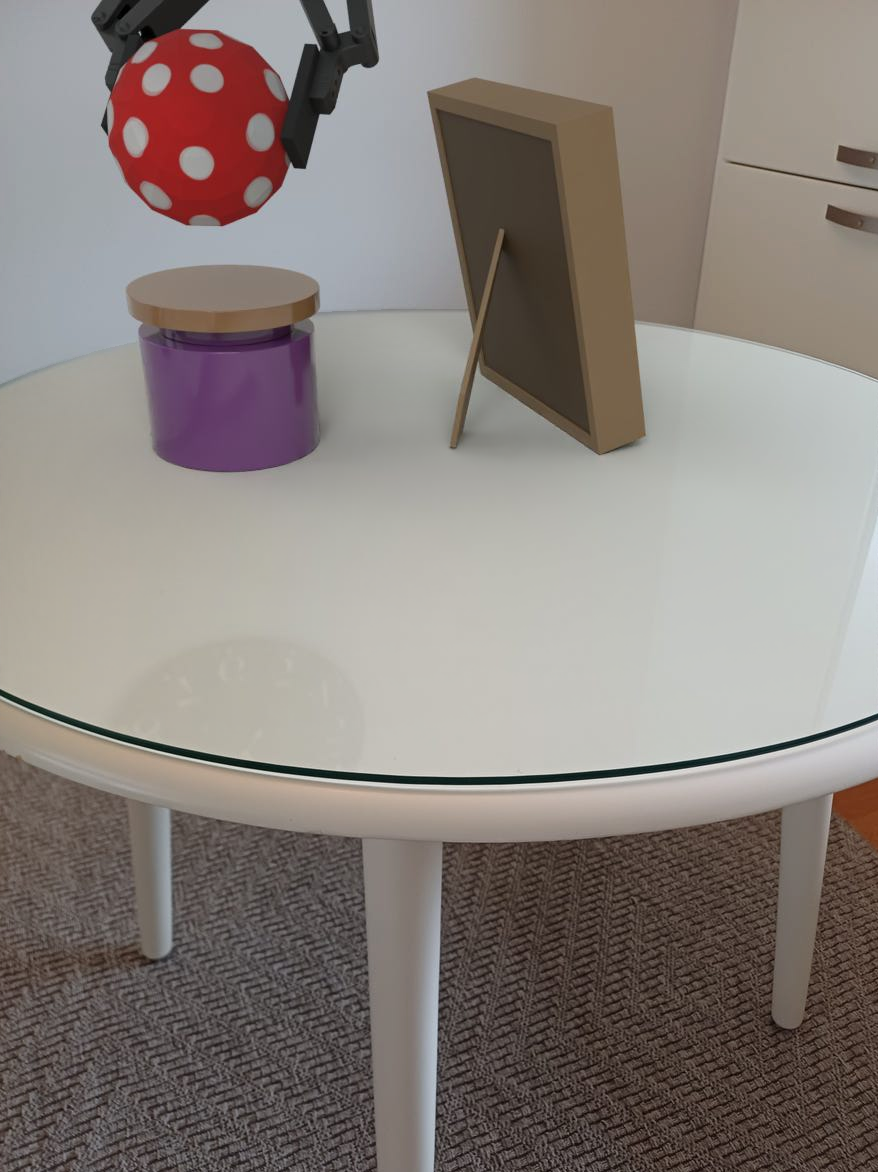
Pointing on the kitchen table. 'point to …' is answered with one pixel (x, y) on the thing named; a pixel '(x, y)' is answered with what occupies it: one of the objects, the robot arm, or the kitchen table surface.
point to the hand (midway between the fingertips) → (203, 147)
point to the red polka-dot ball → (199, 127)
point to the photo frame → (542, 255)
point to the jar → (228, 364)
